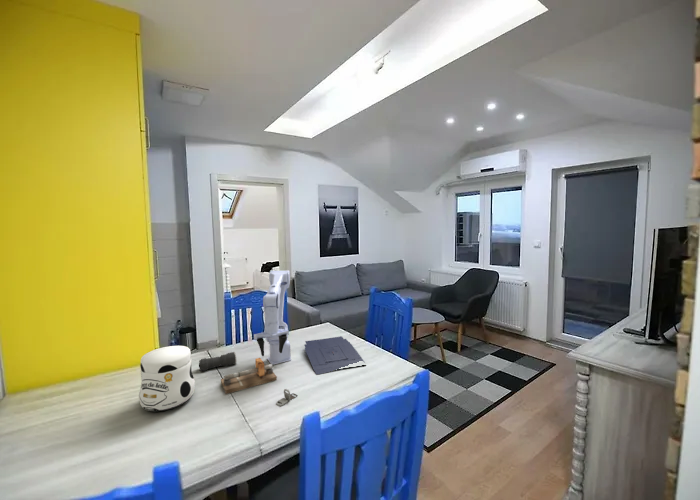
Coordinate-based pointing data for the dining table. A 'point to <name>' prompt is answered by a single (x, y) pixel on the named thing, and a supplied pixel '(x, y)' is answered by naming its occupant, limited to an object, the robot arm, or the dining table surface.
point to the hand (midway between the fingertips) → (271, 353)
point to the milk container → (166, 378)
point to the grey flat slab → (331, 354)
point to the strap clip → (287, 396)
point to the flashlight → (217, 361)
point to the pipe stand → (247, 379)
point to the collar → (260, 366)
